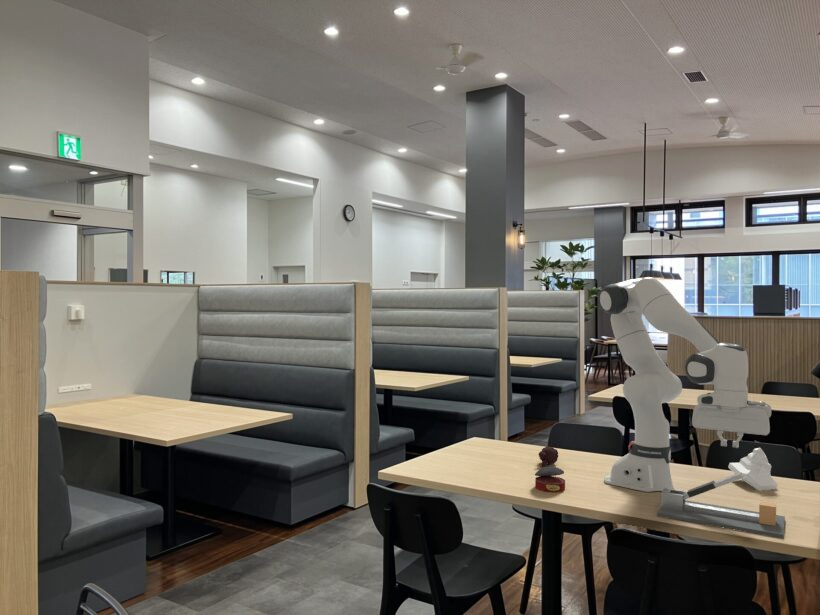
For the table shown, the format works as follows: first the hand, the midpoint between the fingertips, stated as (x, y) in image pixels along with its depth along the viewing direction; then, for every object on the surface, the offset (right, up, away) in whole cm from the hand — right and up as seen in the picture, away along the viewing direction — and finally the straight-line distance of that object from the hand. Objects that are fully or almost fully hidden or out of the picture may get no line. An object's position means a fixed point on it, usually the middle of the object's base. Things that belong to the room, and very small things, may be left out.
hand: (729, 446), depth 187 cm
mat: (-2, -21, +1) cm, 21 cm away
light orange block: (+8, -20, -5) cm, 22 cm away
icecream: (-39, -20, +63) cm, 77 cm away
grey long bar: (-3, -20, +2) cm, 20 cm away
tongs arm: (-5, -14, +3) cm, 15 cm away
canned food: (-46, -21, +29) cm, 58 cm away
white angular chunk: (+27, -22, +37) cm, 51 cm away
